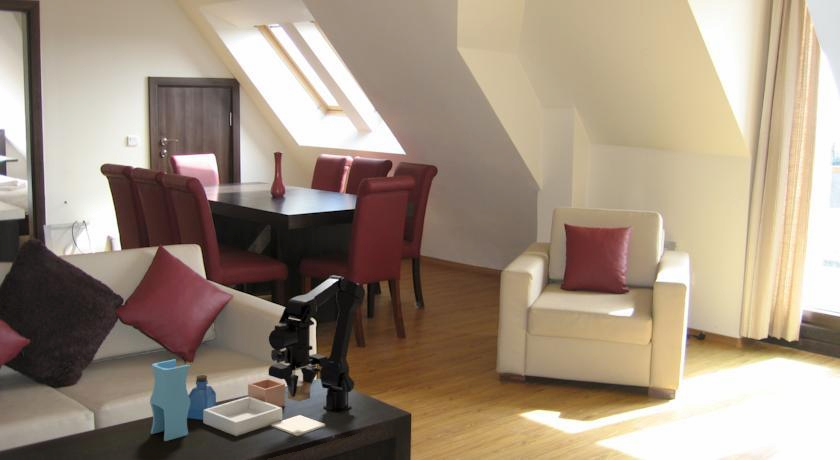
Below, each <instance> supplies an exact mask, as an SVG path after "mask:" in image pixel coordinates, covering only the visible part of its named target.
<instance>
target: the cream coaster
mask: <svg viewBox="0 0 840 460" xmlns="http://www.w3.org/2000/svg"><path fill="white" fill-rule="evenodd" d="M270 426H271V427H272V428H275V429H278V430H280V431H283V432H286V433H288V434H290V435H294V436H296V437H298V436H302V435H304V434H307V433H310V432H312V431H315V430H318V429H320V428H321V429H322V428H324V427H326V423H323V422H321V421H318V420H315V419H311V418H309V417H307V416H303V415H301V414H299V415H298V414H297V415H295V416H293V417H289V418H286V419H282V421H280V422H277V423H274V424H271V425H270Z"/></svg>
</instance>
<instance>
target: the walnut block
mask: <svg viewBox="0 0 840 460" xmlns="http://www.w3.org/2000/svg"><path fill="white" fill-rule="evenodd" d="M287 398H288V399H289V400H293V401H294V402H303V401H305V400H308V399H311V386H310V383H308V382H305V381H303V379H302V380H301V379H298V382H297V388H296V393H295V396H294V397H291V395H290V392H289V389H288V388H287Z"/></svg>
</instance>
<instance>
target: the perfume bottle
mask: <svg viewBox="0 0 840 460" xmlns="http://www.w3.org/2000/svg"><path fill="white" fill-rule="evenodd" d="M195 378H196V380H195V387H193V388H192V389H191V390H190V393H189V394H188V395H189V398H190V407H189V410H188V415H187V419H194V420H203V410H204V409H208V408H211V407H215V406H217V393H216V392H215V390H214V388H213V387H212V386H211V385H208V384H209V381H208V379H207V378H208V375H207V374H206V375H204V374H203V375H201V374H200V375H197V376H195Z"/></svg>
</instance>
